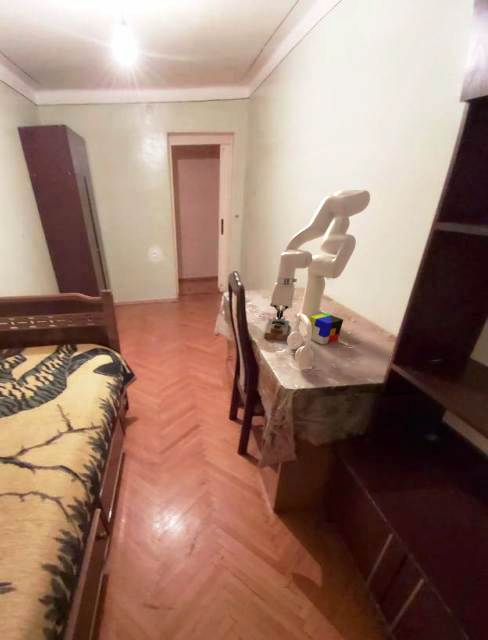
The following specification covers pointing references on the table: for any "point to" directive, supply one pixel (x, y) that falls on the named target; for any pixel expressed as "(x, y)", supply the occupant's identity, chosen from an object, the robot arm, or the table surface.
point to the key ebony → (277, 325)
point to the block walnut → (276, 332)
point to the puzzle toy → (325, 328)
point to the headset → (296, 340)
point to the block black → (283, 322)
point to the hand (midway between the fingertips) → (279, 318)
